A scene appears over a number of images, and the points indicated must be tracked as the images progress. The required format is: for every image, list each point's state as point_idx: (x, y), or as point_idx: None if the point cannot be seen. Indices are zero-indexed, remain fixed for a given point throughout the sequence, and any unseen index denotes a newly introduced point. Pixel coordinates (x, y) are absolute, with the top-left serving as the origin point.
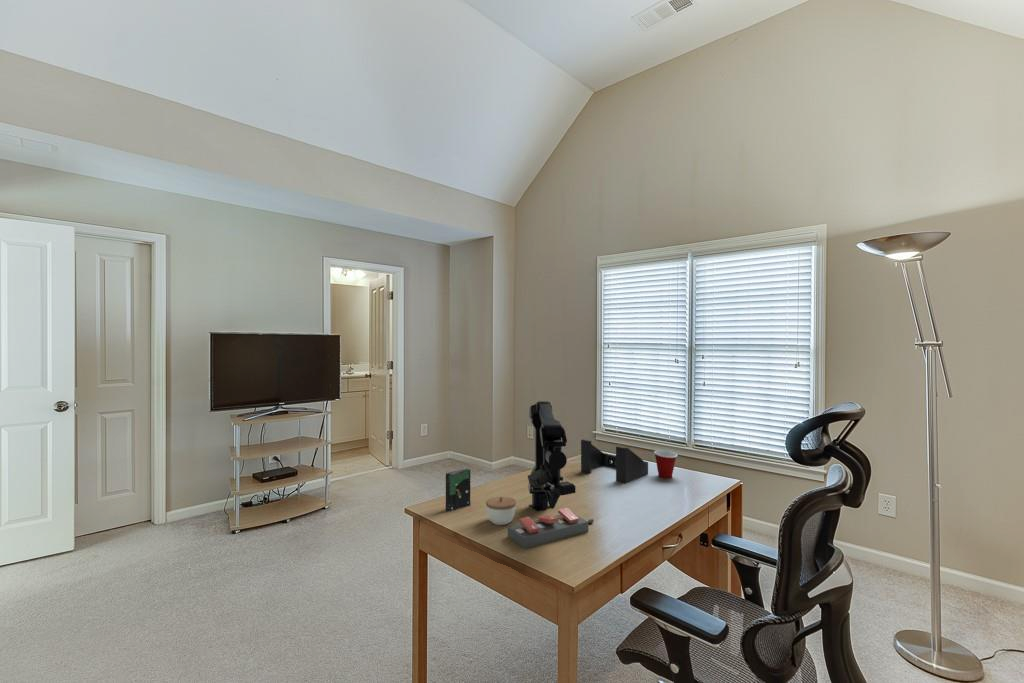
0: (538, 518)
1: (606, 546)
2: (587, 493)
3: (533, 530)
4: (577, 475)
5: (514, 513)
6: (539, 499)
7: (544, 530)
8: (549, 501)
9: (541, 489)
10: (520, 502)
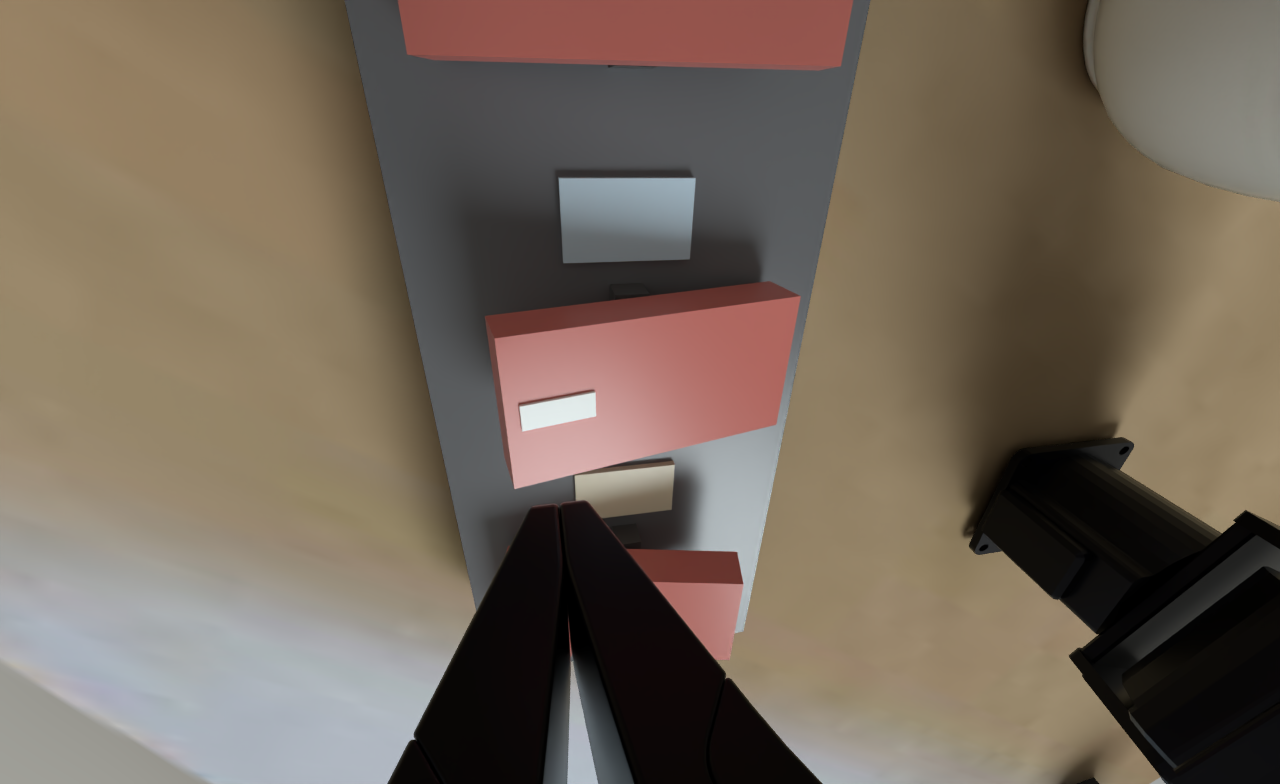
0: (780, 292)
1: (167, 604)
2: (937, 746)
3: None
4: (1096, 763)
5: (1159, 119)
6: (1099, 535)
7: (461, 183)
8: (582, 625)
9: (1188, 632)
10: (1213, 421)
